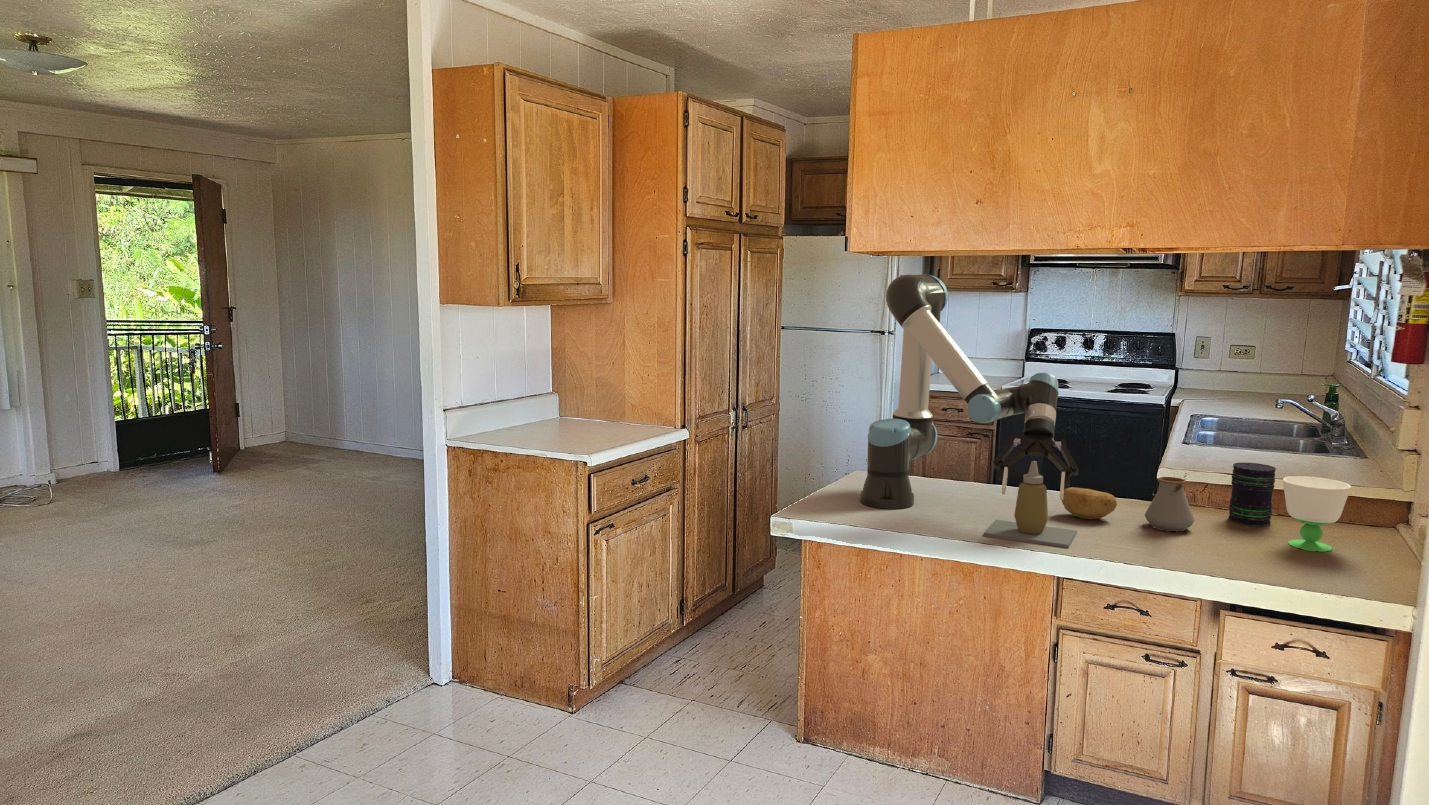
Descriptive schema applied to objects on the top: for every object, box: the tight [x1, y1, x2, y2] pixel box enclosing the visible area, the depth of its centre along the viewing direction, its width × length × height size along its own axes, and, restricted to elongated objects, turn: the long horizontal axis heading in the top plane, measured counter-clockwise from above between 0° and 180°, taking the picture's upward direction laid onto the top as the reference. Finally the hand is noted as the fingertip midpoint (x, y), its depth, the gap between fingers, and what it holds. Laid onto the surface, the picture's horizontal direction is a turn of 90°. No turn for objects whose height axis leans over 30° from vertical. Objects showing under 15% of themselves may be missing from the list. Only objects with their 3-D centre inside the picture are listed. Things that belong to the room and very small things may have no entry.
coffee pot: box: [1144, 476, 1195, 533], centre depth 226 cm, size 21×12×15 cm, turn 159°
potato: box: [1061, 486, 1118, 520], centre depth 240 cm, size 10×14×8 cm
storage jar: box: [1228, 462, 1277, 527], centre depth 237 cm, size 10×10×15 cm
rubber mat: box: [983, 519, 1078, 549], centre depth 225 cm, size 20×14×1 cm
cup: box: [1282, 475, 1352, 553], centre depth 215 cm, size 14×14×16 cm
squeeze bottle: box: [1014, 460, 1049, 534], centre depth 224 cm, size 8×8×18 cm
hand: (1032, 494), depth 221 cm, fingers open, 13 cm apart
